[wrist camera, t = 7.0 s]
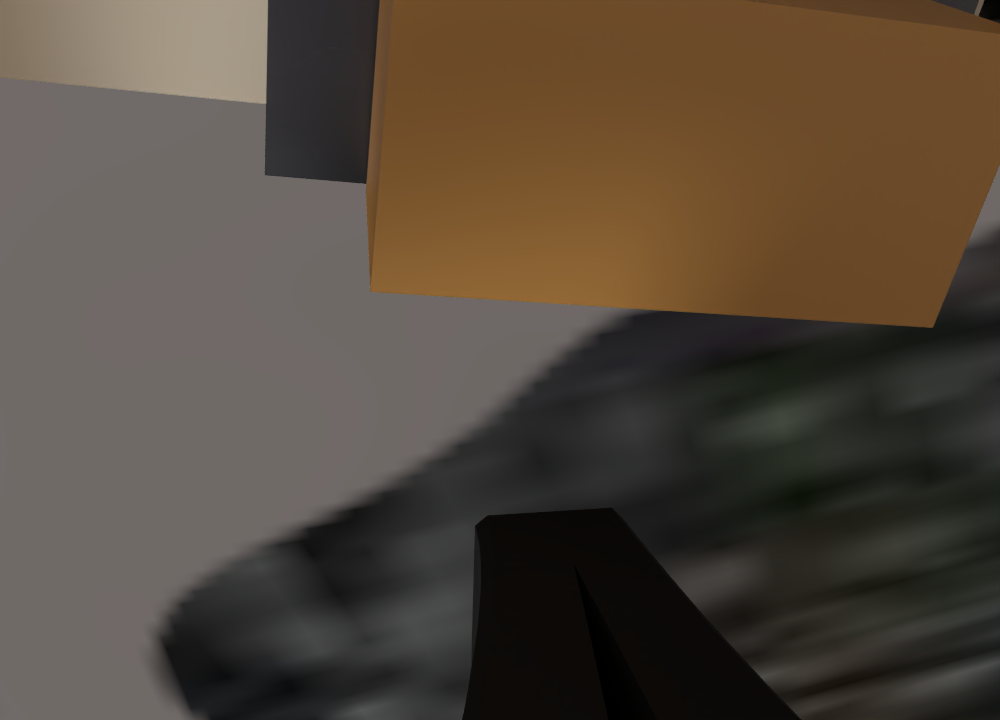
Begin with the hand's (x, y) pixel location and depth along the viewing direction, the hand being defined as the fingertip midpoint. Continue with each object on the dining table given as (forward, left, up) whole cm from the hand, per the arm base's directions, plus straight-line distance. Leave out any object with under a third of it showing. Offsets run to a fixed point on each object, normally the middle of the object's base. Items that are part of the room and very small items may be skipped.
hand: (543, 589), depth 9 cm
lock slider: (0, +5, -1) cm, 5 cm away
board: (-5, +18, -4) cm, 19 cm away
